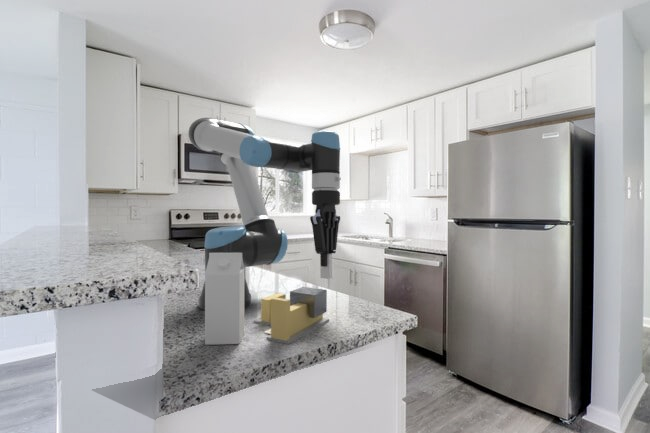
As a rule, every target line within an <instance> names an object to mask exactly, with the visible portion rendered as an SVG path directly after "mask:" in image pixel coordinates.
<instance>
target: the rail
mask: <svg viewBox="0 0 650 433" xmlns="http://www.w3.org/2000/svg"><path fill="white" fill-rule="evenodd" d="M323 316H324V313H323V314H321V315H320V316H318V317H316V318H310V317H309V305H308V304H301V303H296V304H294V305H291V306H290V298H289V299H288V298H286V299H283V298H276V297H275V298H272V299H271V326H270V329H271V334H268V335H267V336H266V340H269V341H273V342H276V343H280V344H286V345H292V343H294V342H296V341H298V340H299V339H301V338H303V337H305V336H307V335H308V334H310V333H311V332H313V331H314V330H316V329H318V328H320V327H321V326H323V325H324V324H326V323H328V322H329V321H330V319H329V318H327V317H323Z"/></svg>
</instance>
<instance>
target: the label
mask: <svg viewBox="0 0 650 433" xmlns="http://www.w3.org/2000/svg"><path fill="white" fill-rule="evenodd" d="M263 334H268V335H271V328H269V329H267V330H265V331H264V332H263Z"/></svg>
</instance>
